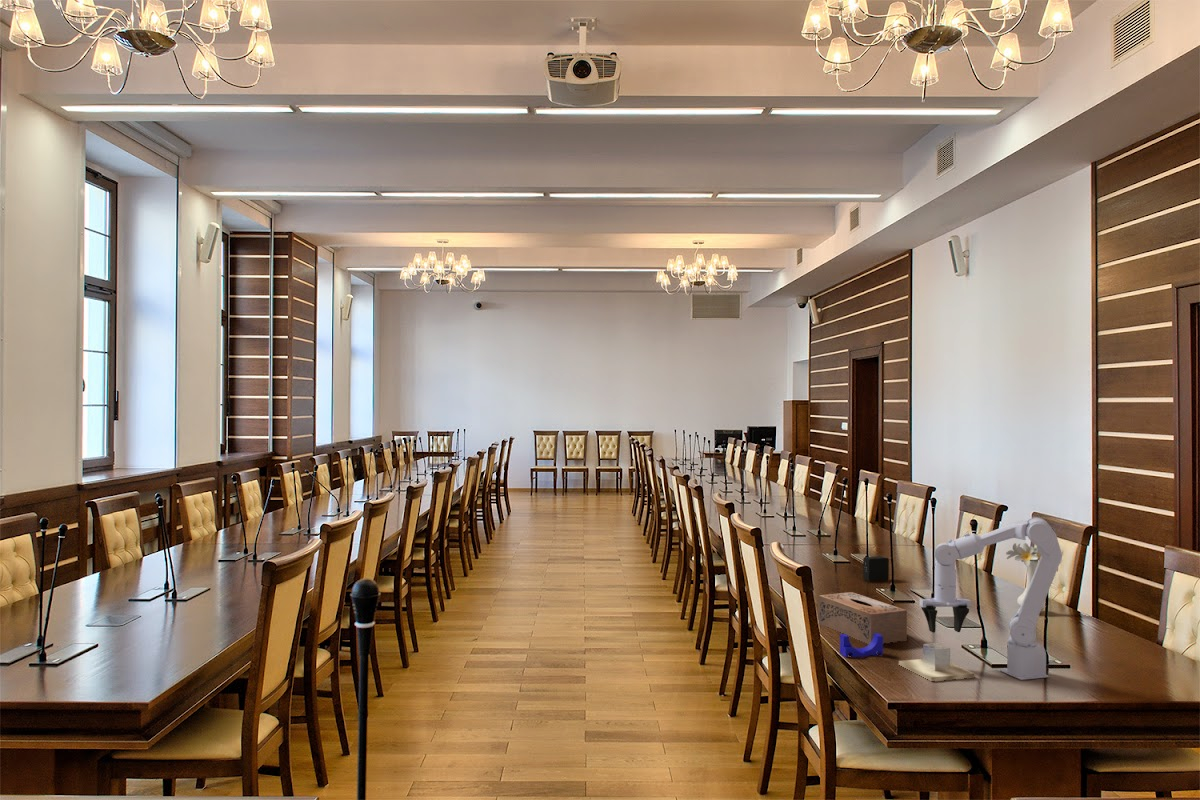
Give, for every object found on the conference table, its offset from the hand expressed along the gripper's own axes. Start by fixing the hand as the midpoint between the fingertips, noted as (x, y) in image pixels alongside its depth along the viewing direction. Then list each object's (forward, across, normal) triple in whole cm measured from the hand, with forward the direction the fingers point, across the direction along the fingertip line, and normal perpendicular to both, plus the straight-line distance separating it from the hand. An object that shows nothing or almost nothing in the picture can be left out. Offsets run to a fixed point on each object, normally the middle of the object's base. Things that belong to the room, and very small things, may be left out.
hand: (944, 631), depth 227 cm
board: (+9, -6, -6) cm, 13 cm away
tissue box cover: (+10, -11, +32) cm, 36 cm away
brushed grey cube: (+8, -6, -6) cm, 12 cm away
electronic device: (+10, +27, +107) cm, 111 cm away
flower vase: (+10, +64, +55) cm, 85 cm away
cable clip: (+10, -21, +9) cm, 25 cm away
